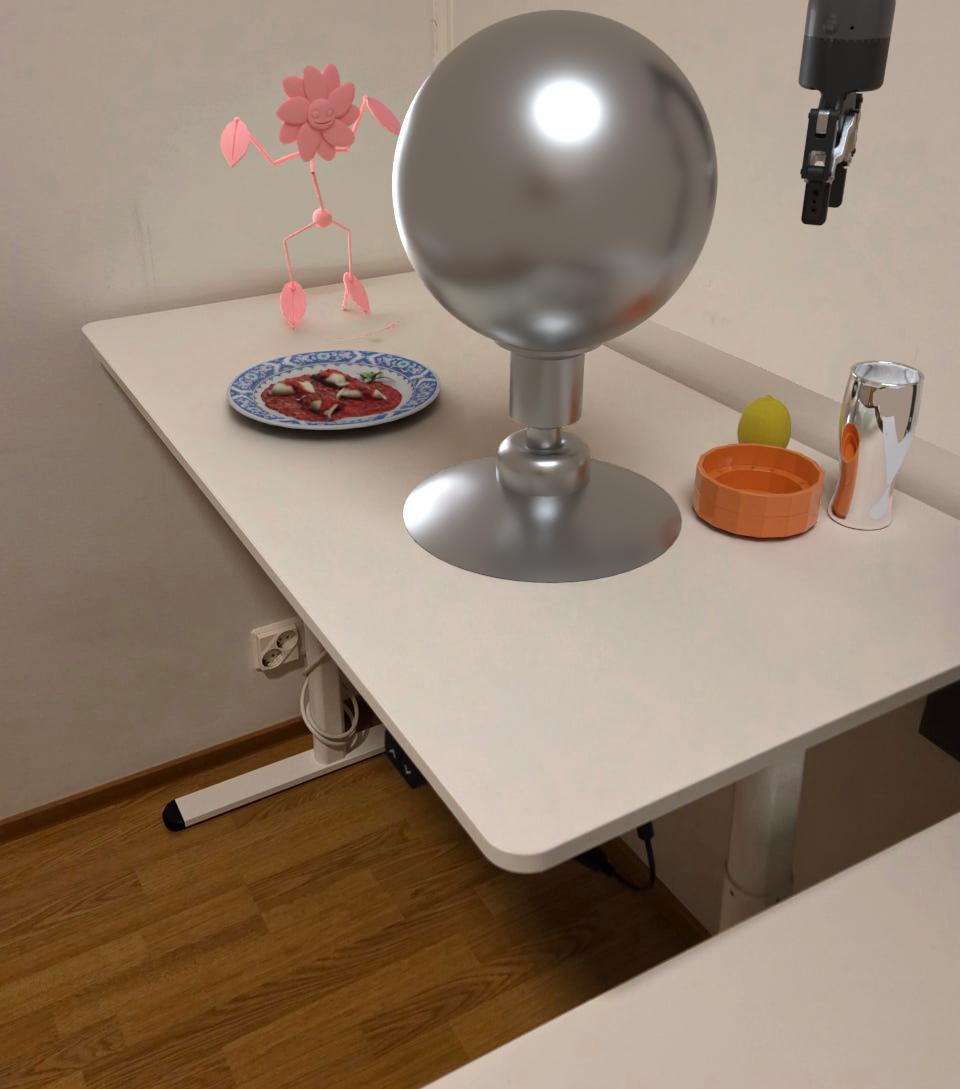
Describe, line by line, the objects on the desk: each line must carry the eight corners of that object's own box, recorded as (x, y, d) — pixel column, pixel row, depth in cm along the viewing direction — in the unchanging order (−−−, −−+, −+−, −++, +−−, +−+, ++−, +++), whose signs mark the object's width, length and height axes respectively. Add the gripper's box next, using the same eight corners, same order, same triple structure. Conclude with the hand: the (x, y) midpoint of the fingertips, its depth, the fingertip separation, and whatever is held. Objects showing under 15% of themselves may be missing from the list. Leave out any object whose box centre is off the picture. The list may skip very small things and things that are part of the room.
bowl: (793, 485, 115) (800, 441, 113) (834, 541, 105) (842, 494, 102) (680, 488, 114) (685, 444, 112) (709, 545, 104) (715, 497, 101)
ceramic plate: (290, 464, 119) (288, 439, 118) (193, 393, 137) (190, 370, 136) (482, 411, 132) (483, 388, 131) (371, 352, 150) (370, 331, 149)
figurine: (231, 326, 160) (203, 65, 143) (388, 299, 172) (379, 55, 155) (273, 356, 149) (247, 77, 132) (438, 325, 161) (434, 65, 144)
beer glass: (808, 514, 109) (833, 370, 102) (847, 493, 114) (873, 354, 106) (871, 539, 105) (901, 391, 98) (909, 517, 109) (941, 373, 102)
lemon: (723, 463, 120) (731, 394, 116) (754, 450, 123) (764, 382, 119) (764, 480, 116) (774, 409, 112) (796, 466, 119) (807, 396, 115)
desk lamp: (570, 617, 93) (601, 29, 71) (345, 516, 109) (313, 10, 87) (733, 504, 111) (798, 10, 89) (520, 432, 127) (531, -3, 105)
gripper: (879, 39, 92) (848, 235, 100) (901, 27, 103) (873, 204, 111) (788, 36, 95) (766, 227, 103) (820, 25, 106) (797, 197, 114)
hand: (821, 215), depth 107 cm, fingers open, 8 cm apart
